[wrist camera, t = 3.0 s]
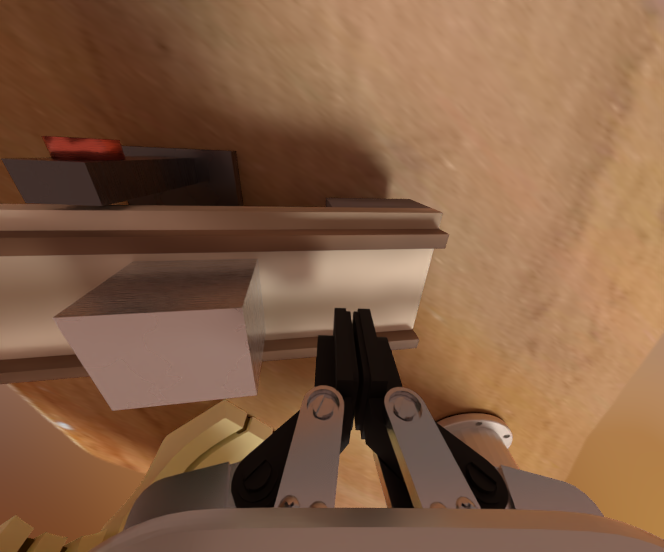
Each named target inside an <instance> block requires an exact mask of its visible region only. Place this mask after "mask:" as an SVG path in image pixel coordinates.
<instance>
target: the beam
mask: <svg viewBox="0 0 664 552" xmlns="http://www.w3.org/2000/svg"><path fill="white" fill-rule="evenodd" d="M442 215H443V213H442V212H439V211H437V210H435V209H432V208H430V207H427V206H425V205H422V204H420V203H418V202H415V201H413V200H410V199H368V198H326V207H259V206H165V205H105V206H86V205H61V204H0V384H8V383H19V382H31V381H42V380H54V379H65V378H77V377H88V376H89V374H88V372H87V371H86V369H85V368H84V366H83V365H82V363H81V362H80V360H79V359H78V357H77V356H76V354H75V352H74V351H73V349H72V348H71V346H70V345H69V343H68V342H67V340H66V339H65V337H64V336H63V334H62V332H61V331H60V329H59V328H58V326H57V325H56V323H55V322H54V320H53V319H52V318H53V317H54V316H56V315H57V314H58V313H60V312H61V311H63V310H64V309H66V308H67V307H68V306H70V305H71V304H73V303H74V302H76V301H77V300H78V299H80V298H81V297H83V296H84V295H86V294H87V293H88V292H90V291H91V290H93V289H94V288H96V287H97V286H98V285H100V284H101V283H103V282H104V281H106V280H107V279H108V278H110V277H111V276H113V275H114V274H116V273H117V272H118V271H120V270H121V269H123V268H124V267H126V266H127V265H128V264H130V263H131V262H133V261H178V260H223V259H258V266H259V274H260V283H261V292H262V300H263V309H264V317H265V326H266V335H265V342H264V349H263V356H262V361H272V360H284V359H295V358H307V357H317V342H318V335H332V336H333V325H334V309H335V308H346V311H350V312H351V320H353V312H354V311H357V310H358V308H360V309H370V311H371V315H372V319H373V323H374V327H375V331H376V335H377V337H387V339H388V342H389V345H390V348H391V350H399V349H410V348H417V345H418V342H419V338H418V337H417V335H416V334H415V332H414V331H413V326H414V322H415V318H416V315H417V311H418V307H419V303H420V299H421V295H422V292H423V288H424V284H425V280H426V276H427V272H428V269H429V265H430V261H431V257H432V253H433V250H434V249H443V248H445V247H446V244H447V240H448V237H449V234H447V233H446V232H444V231H442V230H440V229H439V227H440V223H441V219H442Z"/></svg>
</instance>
